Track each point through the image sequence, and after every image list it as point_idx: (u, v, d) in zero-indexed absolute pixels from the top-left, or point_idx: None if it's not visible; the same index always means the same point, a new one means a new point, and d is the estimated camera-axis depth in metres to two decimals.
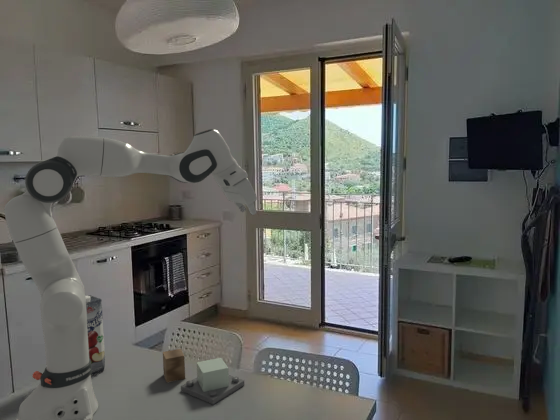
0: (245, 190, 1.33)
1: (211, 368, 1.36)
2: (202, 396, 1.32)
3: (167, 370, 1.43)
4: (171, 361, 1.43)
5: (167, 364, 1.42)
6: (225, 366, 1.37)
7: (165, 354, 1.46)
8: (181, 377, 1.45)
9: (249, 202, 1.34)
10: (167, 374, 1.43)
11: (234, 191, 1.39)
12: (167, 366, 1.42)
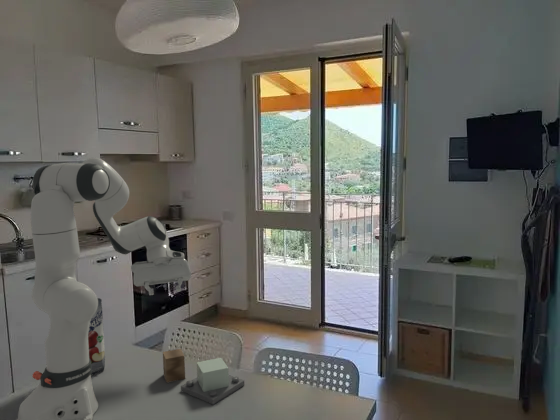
0: None
1: (211, 368, 1.36)
2: (202, 396, 1.32)
3: (167, 370, 1.43)
4: (171, 361, 1.43)
5: (167, 364, 1.42)
6: (225, 366, 1.37)
7: (165, 354, 1.46)
8: (181, 377, 1.45)
9: (190, 274, 1.62)
10: (167, 374, 1.43)
11: (169, 267, 1.61)
12: (167, 366, 1.42)
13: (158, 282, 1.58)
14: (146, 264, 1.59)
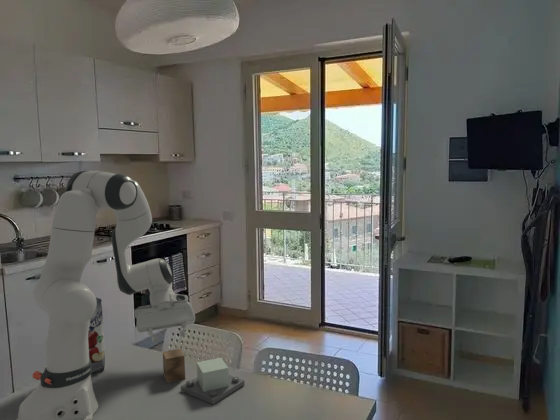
0: None
1: (211, 368, 1.36)
2: (202, 396, 1.32)
3: (167, 370, 1.43)
4: (171, 361, 1.43)
5: (167, 364, 1.42)
6: (225, 366, 1.37)
7: (165, 354, 1.46)
8: (181, 377, 1.45)
9: (194, 318, 1.59)
10: (167, 374, 1.43)
11: (172, 311, 1.57)
12: (167, 366, 1.42)
13: (161, 327, 1.55)
14: (149, 309, 1.55)
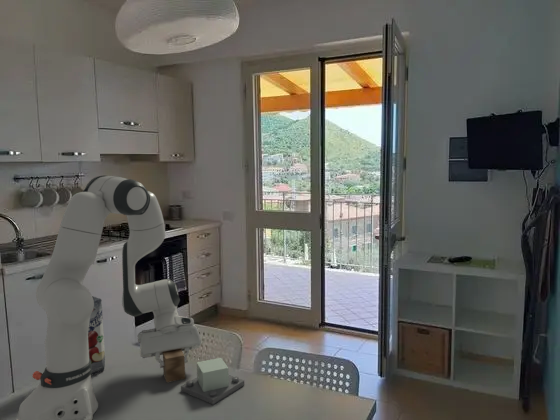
0: None
1: (211, 368, 1.36)
2: (202, 396, 1.32)
3: (167, 370, 1.43)
4: (171, 361, 1.43)
5: (167, 364, 1.42)
6: (225, 366, 1.37)
7: (165, 353, 1.46)
8: (181, 377, 1.45)
9: (200, 342, 1.52)
10: (167, 374, 1.43)
11: (178, 335, 1.51)
12: (167, 366, 1.42)
13: None
14: (153, 333, 1.49)
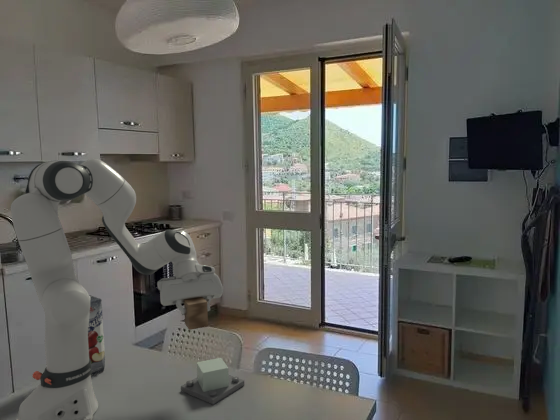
0: None
1: (211, 368, 1.36)
2: (202, 396, 1.32)
3: (190, 317, 1.36)
4: (193, 307, 1.36)
5: (190, 310, 1.36)
6: (225, 366, 1.37)
7: (187, 301, 1.39)
8: (204, 324, 1.38)
9: None
10: (190, 321, 1.36)
11: (199, 284, 1.44)
12: (190, 312, 1.36)
13: None
14: (174, 280, 1.42)
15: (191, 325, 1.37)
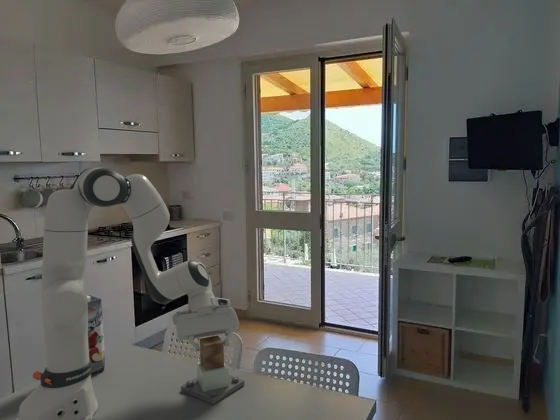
0: None
1: None
2: (202, 396, 1.32)
3: (206, 357, 1.34)
4: (209, 348, 1.34)
5: (206, 351, 1.34)
6: (225, 366, 1.37)
7: (203, 340, 1.37)
8: (220, 365, 1.36)
9: (238, 325, 1.43)
10: (206, 362, 1.34)
11: (214, 317, 1.42)
12: (206, 353, 1.34)
13: (203, 335, 1.40)
14: (189, 314, 1.40)
15: (207, 366, 1.34)
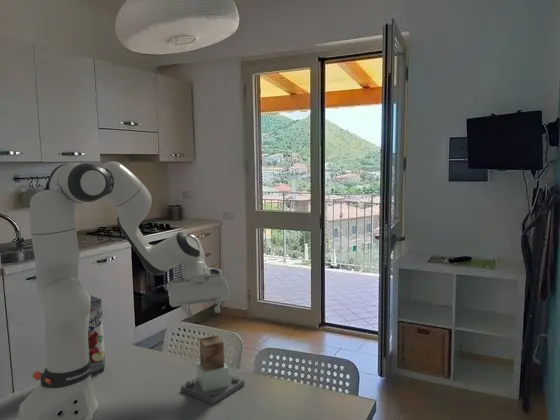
0: None
1: None
2: (202, 396, 1.32)
3: (206, 357, 1.34)
4: (209, 348, 1.34)
5: (206, 351, 1.34)
6: (225, 366, 1.37)
7: (203, 340, 1.37)
8: (220, 365, 1.36)
9: (229, 294, 1.50)
10: (206, 362, 1.34)
11: (207, 286, 1.49)
12: (206, 353, 1.34)
13: (195, 302, 1.46)
14: (182, 282, 1.47)
15: (207, 366, 1.34)
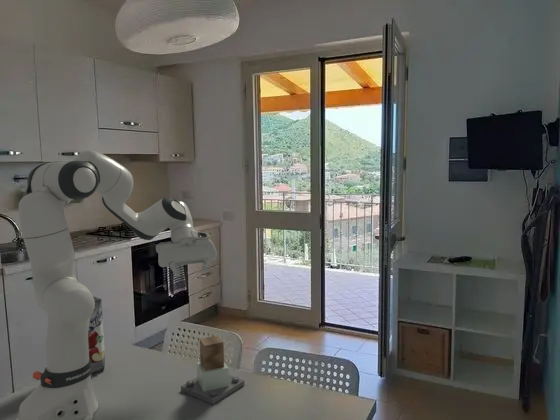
0: None
1: None
2: (202, 396, 1.32)
3: (206, 357, 1.34)
4: (209, 348, 1.34)
5: (206, 351, 1.34)
6: (225, 366, 1.37)
7: (203, 340, 1.37)
8: (220, 365, 1.36)
9: (216, 255, 1.56)
10: (206, 362, 1.34)
11: (194, 248, 1.55)
12: (206, 353, 1.34)
13: (183, 263, 1.53)
14: (171, 244, 1.53)
15: (207, 366, 1.34)
